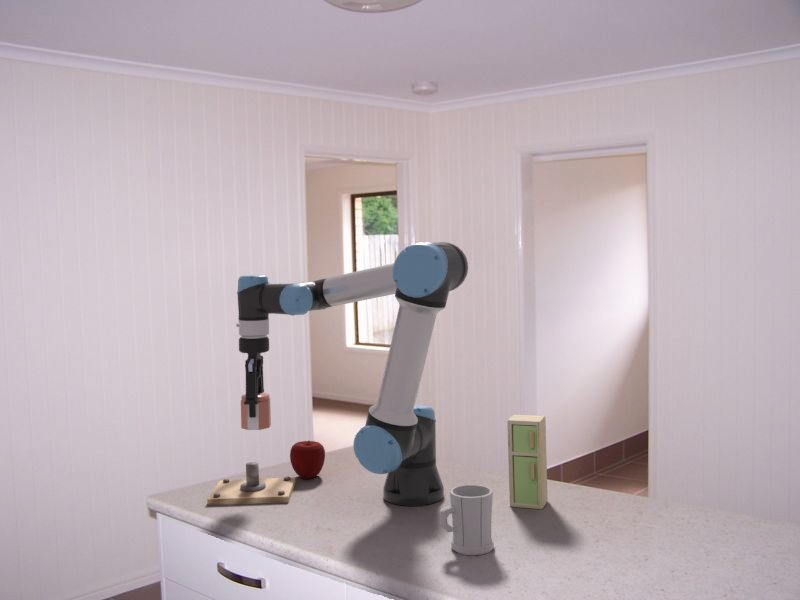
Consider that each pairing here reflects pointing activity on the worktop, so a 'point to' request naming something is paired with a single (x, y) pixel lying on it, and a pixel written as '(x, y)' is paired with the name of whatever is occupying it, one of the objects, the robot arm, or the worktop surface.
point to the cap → (263, 411)
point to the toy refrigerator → (527, 461)
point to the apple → (307, 458)
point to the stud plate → (252, 489)
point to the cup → (469, 519)
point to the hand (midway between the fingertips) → (255, 425)
